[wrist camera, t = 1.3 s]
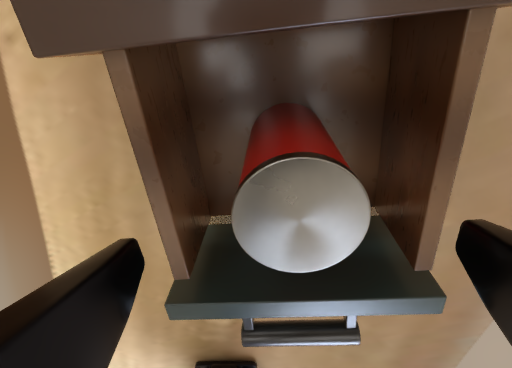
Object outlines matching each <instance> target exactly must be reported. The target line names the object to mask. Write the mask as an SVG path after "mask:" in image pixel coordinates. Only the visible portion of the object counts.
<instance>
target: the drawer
mask: <svg viewBox="0 0 512 368" xmlns="http://www.w3.org/2000/svg"><path fill="white" fill-rule="evenodd" d="M496 9H497V6H494V7H485V8H477V9H468V10H459V11H451V12H442V13H433V14H425V15H416V16H407V17H399V18H390V19H381V20H373V21H364V22H355V23H347V24H338V25H330V26H321V27H312V28H304V29H295V30H286V31H278V32H269V33H260V34H252V35H243V36H234V37H226V38H217V39H208V40H200V41H191V42H182V43H174V44H165V45H157V46H148V47H139V48H131V49H122V50H113V51H105V52H102V53H103V56H104V59H105V62H106V65H107V69H108V72H109V75H110V78H111V81H112V84H113V88H114V91H115V94H116V97H117V100H118V103H119V106H120V110H121V113H122V116H123V119H124V122H125V125H126V129H127V132H128V135H129V138H130V141H131V144H132V148H133V151H134V154H135V157H136V160H137V163H138V166H139V170H140V173H141V176H142V179H143V182H144V185H145V189H146V192H147V195H148V198H149V201H150V204H151V207H152V211H153V214H154V217H155V220H156V223H157V226H158V230H159V233H160V236H161V239H162V242H163V245H164V248H165V252H166V255H167V258H168V261H169V264H170V267H171V271H172V274H173V277H174V279H175V280H174V282H173V285H172V287H171V290H170V292H169V295H168V297H167V300H166V302H165V308H166V311H167V314H168V317H169V319H170V320H197V319H240V318H242V320H243V323H242V329H241V340H242V345H243V347H264V346H334V345H360V341H361V338H360V330H359V326H358V323H357V316H368V315H410V314H441V313H442V312H443V309H444V305H445V302H446V298H447V297H446V295H445V293H444V292H443V290H442V289H441V288H440V286H439V285H438V283H437V282H436V280H435V279H434V277H433V276H432V274H431V273H430V272H429V270H432V268H433V263H434V259H435V255H436V251H437V247H438V243H439V239H440V235H441V231H442V227H443V223H444V219H445V215H446V211H447V207H448V203H449V199H450V195H451V191H452V187H453V183H454V179H455V175H456V171H457V167H458V163H459V159H460V154H461V150H462V146H463V142H464V138H465V134H466V130H467V126H468V122H469V118H470V114H471V110H472V106H473V102H474V98H475V94H476V90H477V86H478V82H479V78H480V74H481V70H482V66H483V62H484V58H485V54H486V50H487V45H488V41H489V37H490V33H491V29H492V25H493V21H494V17H495V13H496ZM282 103H296V104H300V105H303V106H305V107H307V108H309V109H310V110H311V111H313V112H314V113H315V114H316V115H317V116H318V118H319V119H320V121H321V122H322V124H323V126H324V127H325V129H326V130H327V132H328V134H329V135H330V137H331V138H332V140H333V142H334V143H335V145H336V146H337V148H338V150H339V151H340V153H341V155H342V156H343V158H344V159H345V161H346V163H347V164H348V166H349V167H350V169H351V171H352V172H353V173H354V174H355V175H356V176H357V177H358V179H359V180H360V182H361V183H362V185H363V186H364V188H365V190H366V192H367V195H368V198H369V201H370V207H375V209H376V210H377V212H378V213H379V215H377V216H371V218H370V223H369V227H368V230H367V233H366V235H365V237H364V239H363V240H362V242H361V243H360V245H359V246H358V247H357V248H356V249H355V250H354V251H353V252H352V253H351V254H350V255H349V256H348V257H346V258H345V259H343V260H342V261H340V262H338V263H336V264H335V265H333V266H330V267H328V268H325V269H321V270H318V271H313V272H304V273H292V272H284V271H279V270H276V269H273V268H270V267H267V266H265V265H263V264H261V263H259V262H258V261H256V260H255V259H253V258H252V257H251V256H250V255H249V254H248V253H246V252H245V250H244V249H243V248H242V247H241V245H240V244H239V242H238V240H237V239H236V236H235V234H234V232H233V228H232V223H231V224H212V225H208V224H209V221H210V218H211V216H218V215H231V211H232V206H233V201H234V197H235V194H236V192H237V189H238V187H239V182H240V178H241V173H242V169H243V165H244V160H245V156H246V151H247V147H248V143H249V138H250V134H251V130H252V127H253V125H254V123H255V121H256V120H257V118H258V117H259V116H260V115H261V114H262V113H263V112H264V111H265V110H267V109H268V108H270V107H272V106H274V105H277V104H282ZM325 316H344V319H326V320H282V321H254V318H282V317H325Z"/></svg>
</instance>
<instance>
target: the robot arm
mask: <svg viewBox="0 0 512 368" xmlns="http://www.w3.org/2000/svg"><path fill="white" fill-rule="evenodd" d="M456 252H457V255H458V257H459V259H460V261H461V262H462V264H463V266H464V268H465V270H466V272H467V274H468V275H469V277H470V279H471V281H472V283H473V285H474V287H475V288H476V290H477V292H478V294H479V296H480V298H481V299H482V301H483V303H484V305H485V306H486V308H487V310H488V311H489V313H490V314H491V316H492V317H493V319H494V320H495V322H496V323H497V325H498V326H499V328H500V329H501V331H502V332H503V334H504V335H505V337H506V338H507V340H508V341H509V343H510V344H511V346H512V230H509V229H507V228H504V227H501V226H499V225H496V224H493V223H491V222H488V221H486V220H482V219H476V220H465V221H464V222H463V223H462V224H461V227H460V231H459V234H458V238H457V241H456ZM144 266H145V261H144V257H143V255H142V252H141V249H140V246H139V244H138V241H137V240H136V239H134V238H125V239H120V240H118V241H116V242H115V243H113V244H111V245H110V246H108V247H106V248H105V249H103V250H101V251H100V252H98V253H96V254H95V255H93V256H91V257H90V258H88V259H86V260H85V261H83V262H81V263H80V264H78V265H76V266H75V267H73V268H71V269H70V270H68V271H66V272H65V273H63V274H61V275H60V276H58V277H56V278H55V279H53V280H51V281H50V282H48V283H47V284H45V285H43V286H42V287H40V288H38V289H37V290H35V291H33V292H32V293H30V294H28V295H27V296H25V297H23V298H22V299H20V300H18V301H17V302H15V303H13V304H12V305H10V306H8V307H7V308H5V309H3V310H2V311H0V368H108V366H109V363H110V361H111V359H112V356H113V354H114V352H115V349H116V347H117V344H118V342H119V340H120V337H121V335H122V333H123V330H124V328H125V325H126V323H127V320H128V318H129V315H130V312H131V309H132V306H133V303H134V299H135V296H136V293H137V290H138V286H139V283H140V280H141V277H142V273H143V270H144ZM195 368H257V364H256V363H255V362H197V363H196V365H195Z"/></svg>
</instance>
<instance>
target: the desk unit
mask: <svg viewBox="0 0 512 368" xmlns="http://www.w3.org/2000/svg"><path fill="white" fill-rule="evenodd" d="M10 1H11V4H12V6H13V8H14V11H15V13H16V15H17V18H18V20H19V23H20V25H21V27H22V30H23V32H24V34H25V37H26V39H27V42H28V44H29V46H30V49H31V51H32V54H33V56H34V57H36V58H51V57H66V56H80V55H94V54H103V53H102V52H105V51H113V50H122V49H131V48H139V47H148V46H157V45H165V44H174V43H182V42H191V41H200V40H208V39H217V38H226V37H234V36H243V35H252V34H260V33H269V32H278V31H286V30H295V29H304V28H312V27H321V26H330V25H338V24H347V23H355V22H364V21H373V20H381V19H390V18H399V17H407V16H416V15H425V14H433V13H442V12H451V11H459V10H468V9H477V8H485V7H494V6H497V8H503V7H509V6H512V0H10Z"/></svg>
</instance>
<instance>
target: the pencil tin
mask: <svg viewBox="0 0 512 368" xmlns="http://www.w3.org/2000/svg"><path fill="white" fill-rule="evenodd" d="M370 218H371V207H370V201H369V198H368V195H367V192H366V190H365V188H364V186H363V185H362V183H361V182H360V180H359V179H358V177H357V176H356V175H355V174H354V173H353V172H352V171H351V169H350V167H349V166H348V164H347V163H346V161H345V159H344V158H343V156H342V155H341V153H340V151H339V150H338V148H337V146H336V145H335V143H334V142H333V140H332V138H331V137H330V135H329V134H328V132H327V130H326V129H325V127H324V126H323V124H322V122H321V121H320V119H319V118H318V116H317V115H316V114H315V113H314V112H313V111H311V110H310V109H309V108H307V107H305V106H303V105H300V104H296V103H282V104H277V105H274V106H272V107H270V108H268V109H267V110H265V111H264V112H263V113H262V114H261V115H260V116H259V117H258V118H257V120H256V121H255V123H254V125H253V127H252V130H251V134H250V138H249V143H248V147H247V151H246V156H245V160H244V165H243V169H242V173H241V178H240V182H239V187H238V189H237V192H236V194H235V197H234V201H233V206H232V211H231V222H232V228H233V232H234V234H235V236H236V239H237V240H238V242H239V244H240V245H241V247H242V248H243V249H244V250H245V252H246V253H248V254H249V255H250V256H251V257H252V258H253V259H255V260H256V261H258V262H259V263H261V264H263V265H265V266H267V267H270V268H273V269H276V270H279V271H284V272H292V273H304V272H313V271H318V270H321V269H325V268H328V267H330V266H333V265H335V264H336V263H338V262H340V261H342V260H343V259H345V258H346V257H348V256H349V255H350V254H351V253H352V252H353V251H354V250H355V249H356V248H357V247H358V246H359V245H360V243H361V242H362V240H363V239H364V237H365V235H366V233H367V230H368V227H369V223H370Z"/></svg>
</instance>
